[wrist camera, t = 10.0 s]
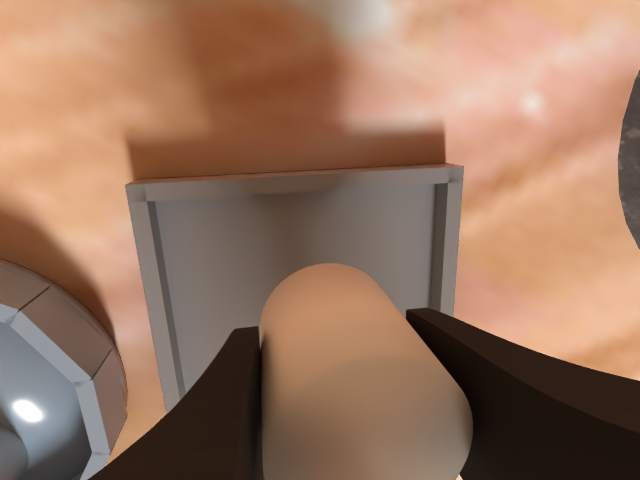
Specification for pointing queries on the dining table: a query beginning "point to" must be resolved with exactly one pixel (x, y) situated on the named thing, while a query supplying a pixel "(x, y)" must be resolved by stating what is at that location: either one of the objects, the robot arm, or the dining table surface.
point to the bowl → (57, 378)
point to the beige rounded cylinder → (353, 386)
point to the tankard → (631, 163)
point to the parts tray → (284, 247)
